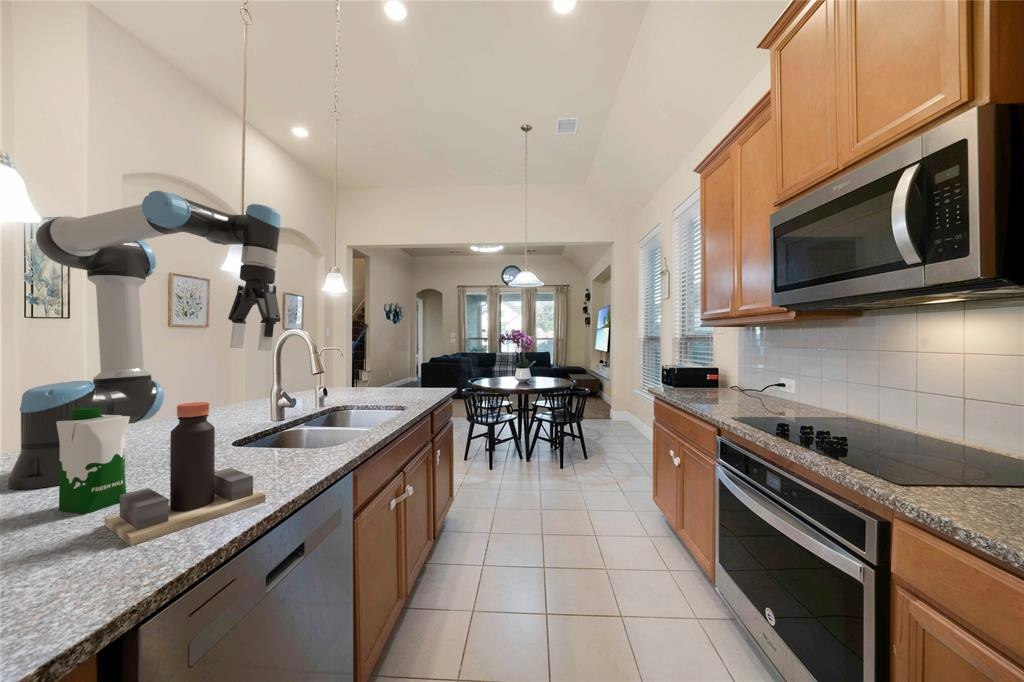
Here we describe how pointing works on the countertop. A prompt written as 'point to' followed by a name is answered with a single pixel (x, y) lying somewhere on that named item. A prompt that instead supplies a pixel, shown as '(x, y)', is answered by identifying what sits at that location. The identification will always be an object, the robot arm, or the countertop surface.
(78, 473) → the milk carton
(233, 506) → the end cap board
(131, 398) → the robot arm
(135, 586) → the countertop surface
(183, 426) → the vinegar
